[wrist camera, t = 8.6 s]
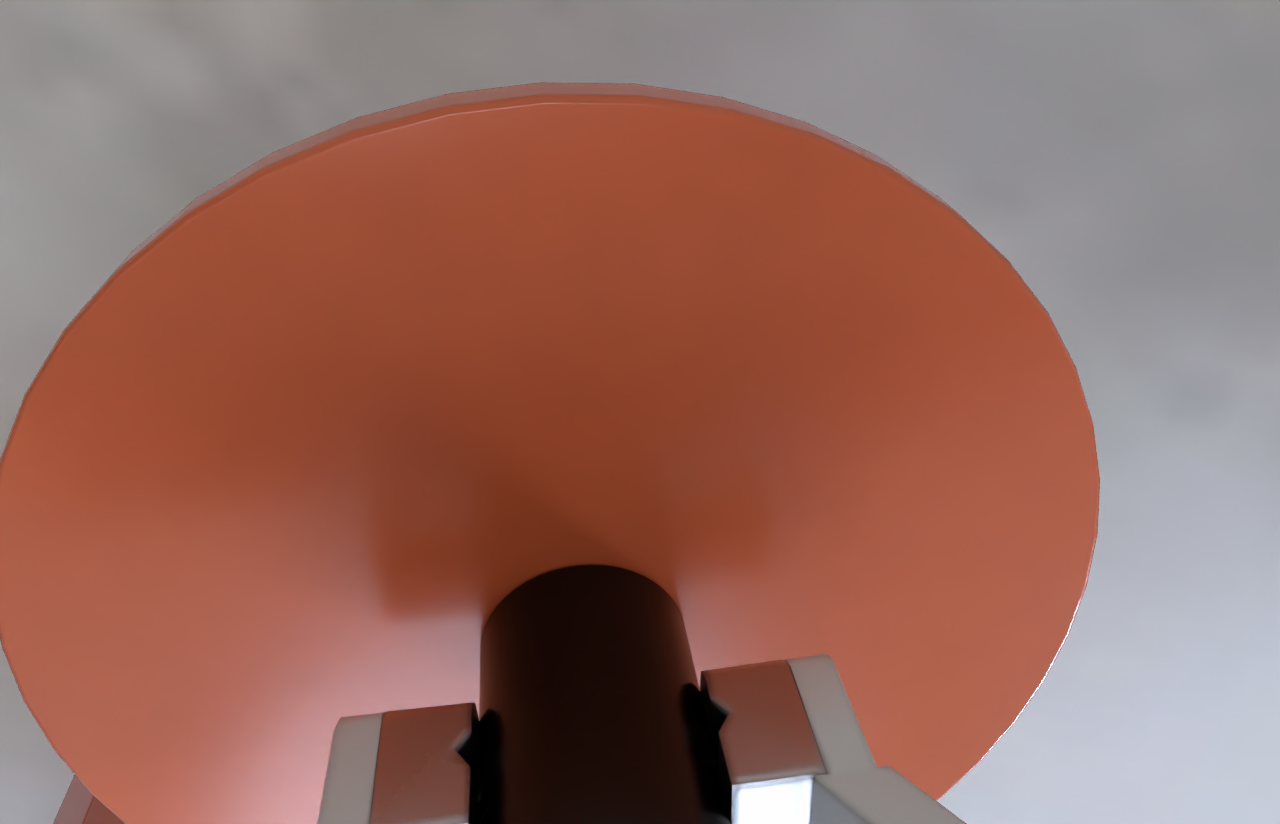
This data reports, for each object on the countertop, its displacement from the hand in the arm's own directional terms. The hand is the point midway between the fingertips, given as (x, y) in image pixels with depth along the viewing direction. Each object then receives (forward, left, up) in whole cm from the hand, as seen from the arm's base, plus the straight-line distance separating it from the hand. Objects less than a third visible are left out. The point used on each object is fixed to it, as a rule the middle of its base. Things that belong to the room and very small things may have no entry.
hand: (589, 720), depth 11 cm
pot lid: (0, 0, -2) cm, 2 cm away
